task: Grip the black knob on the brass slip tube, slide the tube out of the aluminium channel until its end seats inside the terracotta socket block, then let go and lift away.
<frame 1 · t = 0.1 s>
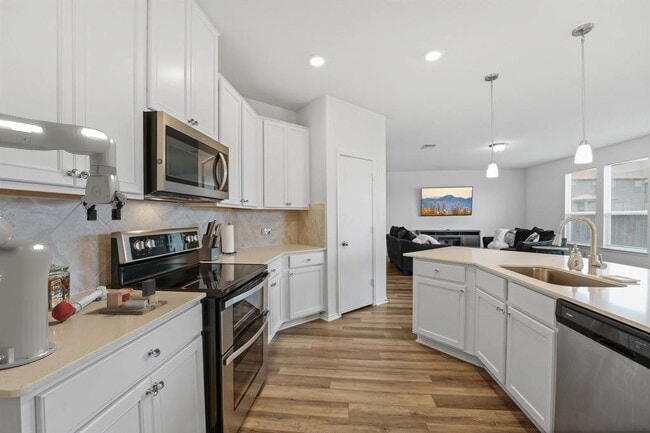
hand: (104, 220, 98), 37 cm above the table, tool pointing down, fingers open, 9 cm apart
white rod: (89, 306, 118), on the table
socket block: (121, 307, 114), resting on base board
base board: (134, 308, 114), on the table
onion: (63, 322, 99), on the table
guide sleeve: (142, 308, 113), resting on base board
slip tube: (142, 291, 113), point 7 cm above the table, slide at 0.0 cm
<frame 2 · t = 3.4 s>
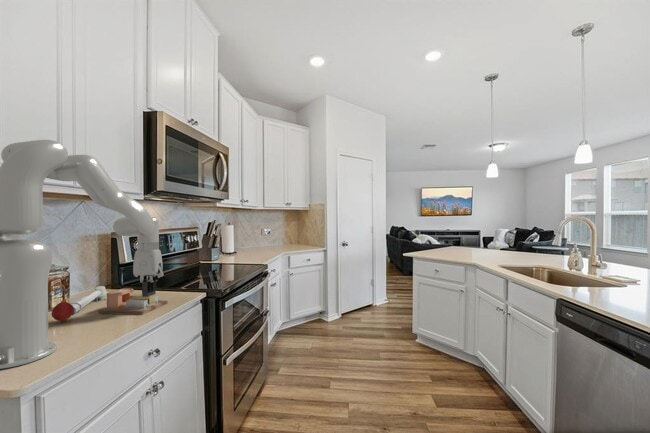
hand: (148, 291, 113), 7 cm above the table, tool pointing down, fingers closed on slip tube, 2 cm apart
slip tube: (142, 291, 113), point 7 cm above the table, slide at 0.0 cm, touching gripper
everything else where it was.
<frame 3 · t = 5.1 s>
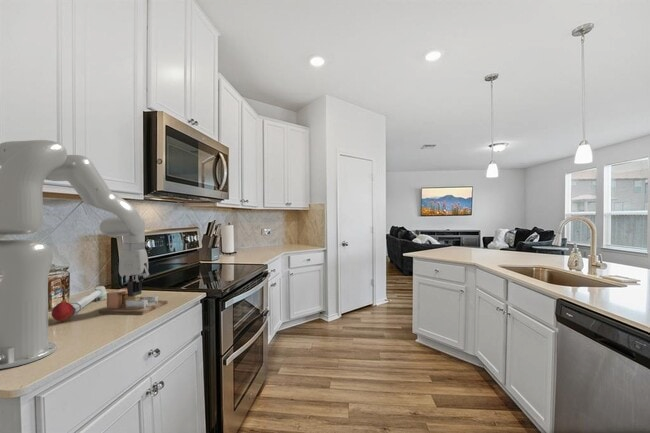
hand: (134, 290, 114), 7 cm above the table, tool pointing down, fingers closed on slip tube, 2 cm apart
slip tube: (128, 291, 114), point 7 cm above the table, slide at 6.5 cm, touching gripper
everything else where it was.
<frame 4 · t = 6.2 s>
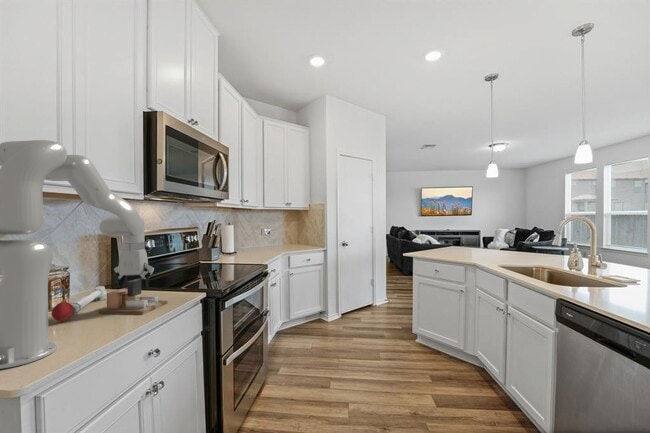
hand: (134, 288, 114), 8 cm above the table, tool pointing down, fingers open, 9 cm apart
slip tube: (127, 291, 114), point 7 cm above the table, slide at 6.6 cm
everything else where it was.
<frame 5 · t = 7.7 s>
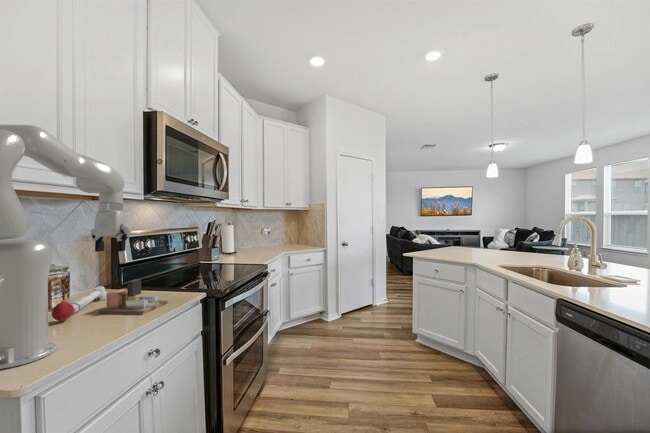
hand: (110, 251, 108), 24 cm above the table, tool pointing down, fingers open, 9 cm apart
nothing on the table moved.
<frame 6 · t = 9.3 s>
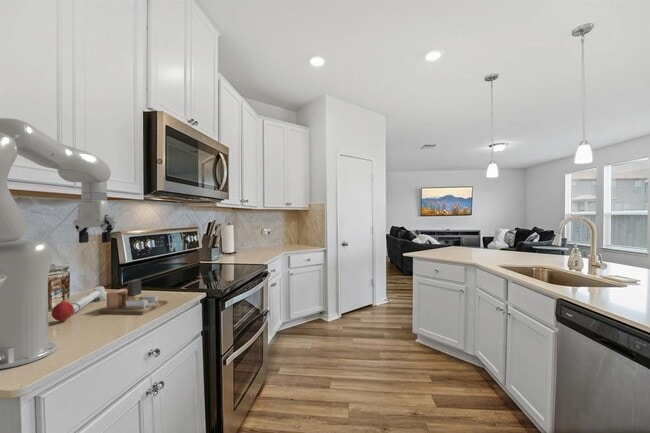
hand: (95, 242, 105), 28 cm above the table, tool pointing down, fingers open, 9 cm apart
nothing on the table moved.
at the end: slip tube slide at 6.6 cm; the gripper is holding nothing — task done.
